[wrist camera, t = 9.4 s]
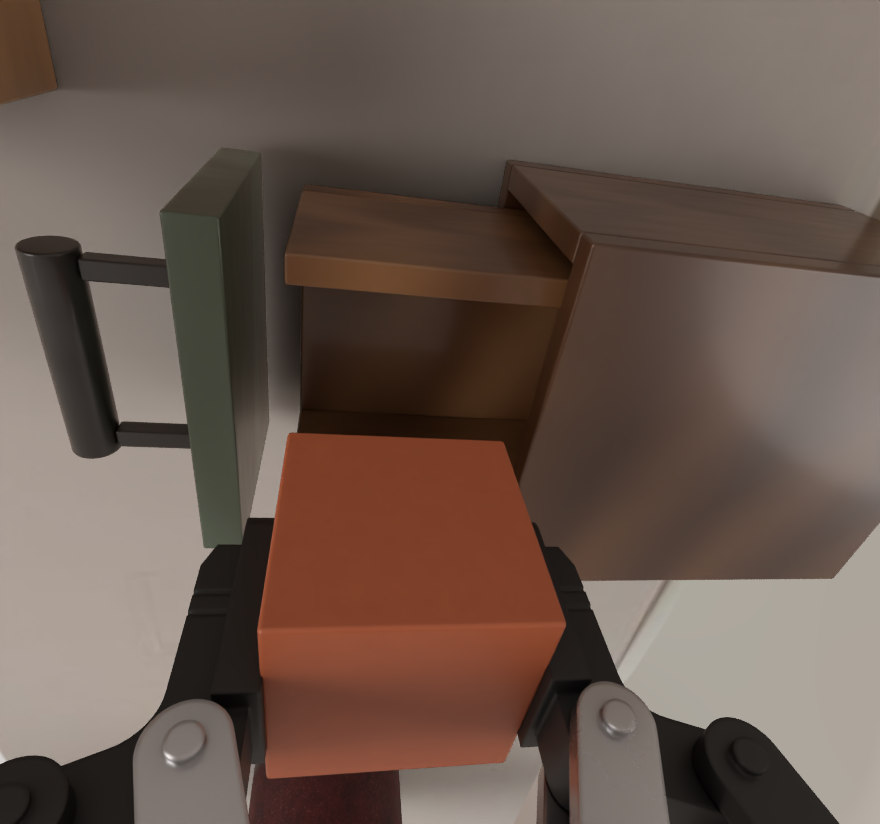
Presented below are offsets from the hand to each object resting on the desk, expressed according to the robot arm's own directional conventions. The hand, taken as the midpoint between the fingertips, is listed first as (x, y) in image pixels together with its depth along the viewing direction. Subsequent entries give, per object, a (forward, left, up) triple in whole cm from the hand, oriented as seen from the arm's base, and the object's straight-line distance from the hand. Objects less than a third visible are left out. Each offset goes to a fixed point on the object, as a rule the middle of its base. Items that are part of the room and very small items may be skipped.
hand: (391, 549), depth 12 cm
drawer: (-1, -1, -11) cm, 11 cm away
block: (0, 0, -1) cm, 1 cm away
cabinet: (+5, +9, -12) cm, 16 cm away
